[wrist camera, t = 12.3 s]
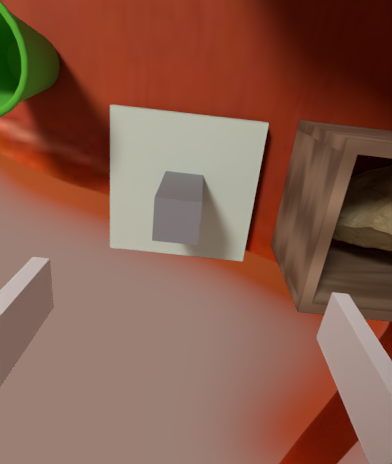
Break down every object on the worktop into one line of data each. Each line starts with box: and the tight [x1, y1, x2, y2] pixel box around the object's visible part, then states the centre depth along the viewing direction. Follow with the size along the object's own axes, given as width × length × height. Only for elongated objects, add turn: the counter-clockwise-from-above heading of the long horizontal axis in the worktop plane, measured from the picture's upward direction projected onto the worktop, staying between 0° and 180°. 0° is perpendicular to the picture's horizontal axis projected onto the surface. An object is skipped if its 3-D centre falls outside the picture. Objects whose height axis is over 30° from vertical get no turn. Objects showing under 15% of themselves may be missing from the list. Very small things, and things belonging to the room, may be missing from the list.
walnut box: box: [271, 120, 392, 322], centre depth 32 cm, size 15×15×13 cm
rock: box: [332, 164, 392, 251], centre depth 35 cm, size 11×9×10 cm
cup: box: [0, 1, 60, 117], centre depth 28 cm, size 9×9×11 cm
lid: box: [110, 105, 269, 261], centre depth 33 cm, size 16×16×11 cm
